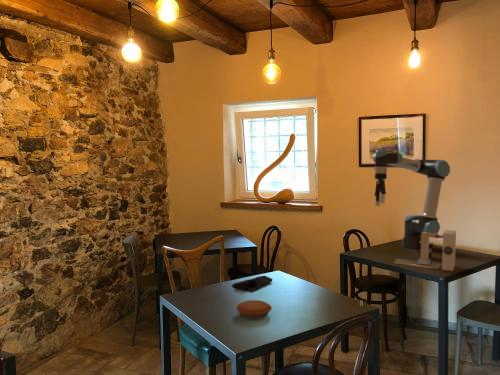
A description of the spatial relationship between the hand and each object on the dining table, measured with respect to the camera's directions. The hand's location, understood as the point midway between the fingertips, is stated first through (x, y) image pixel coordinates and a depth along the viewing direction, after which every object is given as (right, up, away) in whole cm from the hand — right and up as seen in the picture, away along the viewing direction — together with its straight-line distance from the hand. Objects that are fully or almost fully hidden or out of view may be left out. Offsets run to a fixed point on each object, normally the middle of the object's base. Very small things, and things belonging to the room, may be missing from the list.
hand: (380, 204), depth 292 cm
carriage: (+22, -35, -22) cm, 47 cm away
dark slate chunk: (-86, -41, -59) cm, 112 cm away
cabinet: (+33, -37, -28) cm, 57 cm away
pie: (-86, -45, -101) cm, 139 cm away
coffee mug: (+28, -35, -2) cm, 45 cm away
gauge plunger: (+31, -20, -28) cm, 46 cm away
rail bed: (+17, -36, -19) cm, 45 cm away
